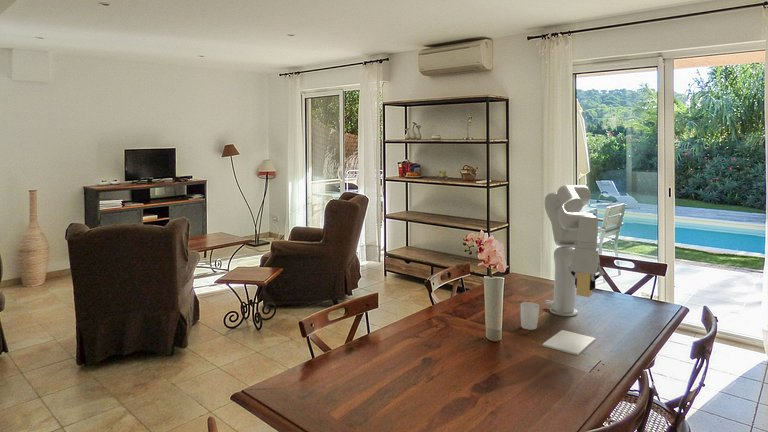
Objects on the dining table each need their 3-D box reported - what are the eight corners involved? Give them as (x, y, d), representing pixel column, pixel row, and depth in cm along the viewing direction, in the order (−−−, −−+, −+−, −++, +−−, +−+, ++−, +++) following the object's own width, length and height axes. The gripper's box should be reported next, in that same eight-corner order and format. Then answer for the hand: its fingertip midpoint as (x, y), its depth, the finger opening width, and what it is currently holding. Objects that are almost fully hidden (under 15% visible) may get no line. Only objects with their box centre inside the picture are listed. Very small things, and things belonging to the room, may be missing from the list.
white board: (542, 345, 203) (542, 343, 203) (561, 331, 218) (562, 329, 218) (577, 355, 194) (578, 353, 194) (595, 339, 209) (595, 338, 209)
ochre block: (576, 295, 212) (577, 266, 211) (580, 292, 216) (581, 264, 215) (588, 297, 209) (590, 268, 208) (592, 294, 213) (593, 266, 212)
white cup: (536, 324, 227) (537, 302, 225) (540, 330, 219) (541, 308, 217) (518, 323, 227) (519, 301, 226) (521, 330, 220) (522, 307, 218)
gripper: (562, 244, 212) (561, 287, 215) (606, 249, 202) (603, 294, 204) (569, 241, 218) (567, 283, 220) (611, 246, 208) (608, 290, 210)
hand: (584, 288), depth 212 cm, fingers closed on ochre block, 5 cm apart
